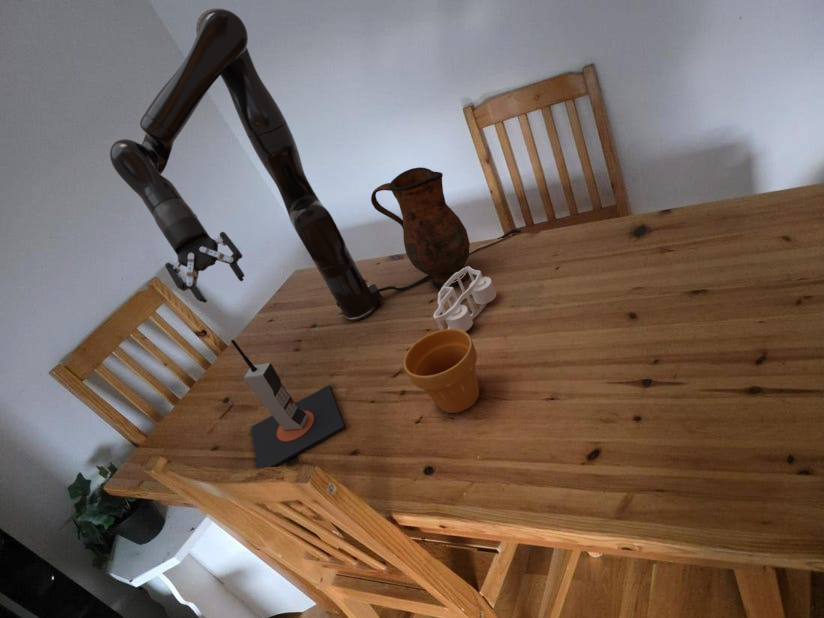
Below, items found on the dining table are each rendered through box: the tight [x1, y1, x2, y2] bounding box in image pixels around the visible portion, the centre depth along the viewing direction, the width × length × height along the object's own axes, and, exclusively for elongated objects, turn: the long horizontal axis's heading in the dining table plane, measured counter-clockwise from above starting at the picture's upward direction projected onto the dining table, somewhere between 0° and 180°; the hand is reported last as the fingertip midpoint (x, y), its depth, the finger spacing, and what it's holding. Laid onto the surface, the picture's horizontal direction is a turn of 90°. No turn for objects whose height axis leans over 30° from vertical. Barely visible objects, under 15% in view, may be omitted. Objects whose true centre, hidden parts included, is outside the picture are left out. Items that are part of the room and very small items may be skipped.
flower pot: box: [403, 328, 480, 414], centre depth 120 cm, size 14×14×13 cm
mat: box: [251, 384, 346, 469], centre depth 133 cm, size 20×17×1 cm
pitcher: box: [370, 166, 471, 290], centre depth 154 cm, size 17×21×30 cm
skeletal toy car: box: [433, 265, 497, 332], centre depth 144 cm, size 20×11×7 cm, turn 147°
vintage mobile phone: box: [230, 339, 308, 430], centre depth 126 cm, size 4×5×25 cm
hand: (223, 290), depth 125 cm, fingers open, 8 cm apart
